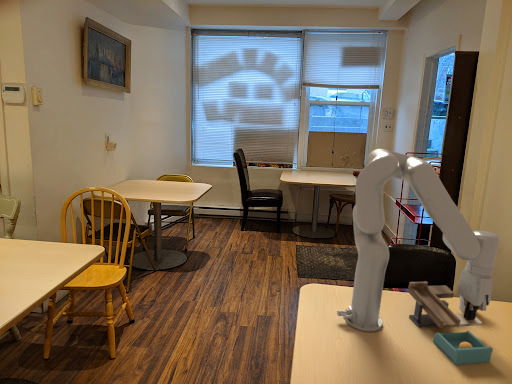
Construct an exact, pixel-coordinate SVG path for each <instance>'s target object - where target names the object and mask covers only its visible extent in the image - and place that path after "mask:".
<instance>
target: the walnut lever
mask: <svg viewBox="0 0 512 384" xmlns="http://www.w3.org/2000/svg"><path fill="white" fill-rule="evenodd" d="M407 292H408V294H409V295H410V296H411V298H413V299H414V301H415V302H416V301H420V302H421V303H422V304H423V309H422V310H423V311H424V312H425V314H428V315H429V316H430V317H431V319H432V320H433V321H434V322H435V323H436V324H437V325H438V326H437V327H438V328H439V329H442V328H455V327H456V328H457V327H458V328H459V327H461V328H462V327H473V326H475V327H476V326H482V325H483V322H482V321H481V320H480V319H479V318H478V317H477V316H476V317H475V320H466V318H464V313H454V312H453V311H452V310H451V309H450V308H449V306H448V307H447V306H446V305H445V304H444V303H443V302H442V301H441V299H452V298H454V295H455V292H454V291H452V290H451V288H450V287H448V286H447V285H443V284H442V285H428V281H409V283H408V287H407Z"/></svg>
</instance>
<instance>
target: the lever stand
mask: <svg viewBox="0 0 512 384" xmlns="http://www.w3.org/2000/svg"><path fill="white" fill-rule="evenodd" d="M440 300H441V299H440ZM441 301H442V302H443V303H444V304H445V305H446V306H447V307H448V308H449V302H447V301H446V299H443V300H441ZM423 310H424V309H423V304H422V303H421V302H420V301H416V300H415V307H414V313H413V314H409V316H408V318H409V319H410V320H411V321H412V322H413V323H414V324H415V325H416V326H417V328H432V327H439V326H438V325H437V324H436V323H435V322H434V321H433V320H432V319H431V317H430V316H429V315H428V314H427V313H423ZM422 313H423V314H422Z"/></svg>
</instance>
